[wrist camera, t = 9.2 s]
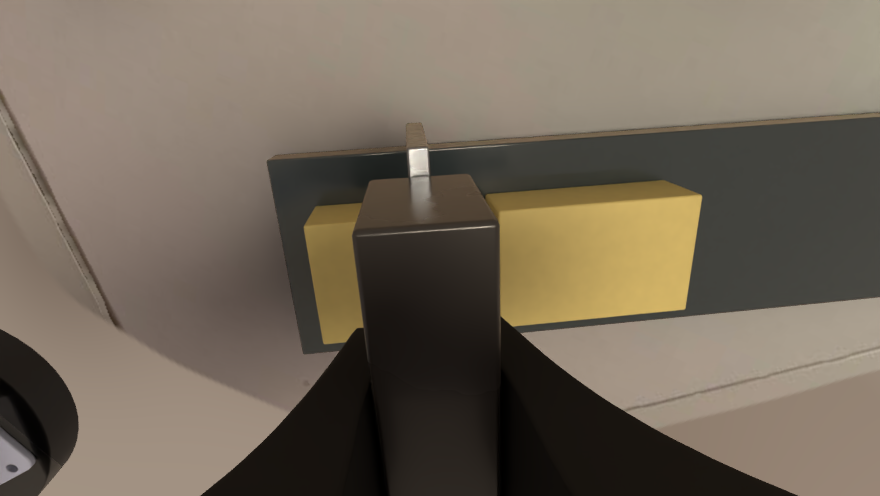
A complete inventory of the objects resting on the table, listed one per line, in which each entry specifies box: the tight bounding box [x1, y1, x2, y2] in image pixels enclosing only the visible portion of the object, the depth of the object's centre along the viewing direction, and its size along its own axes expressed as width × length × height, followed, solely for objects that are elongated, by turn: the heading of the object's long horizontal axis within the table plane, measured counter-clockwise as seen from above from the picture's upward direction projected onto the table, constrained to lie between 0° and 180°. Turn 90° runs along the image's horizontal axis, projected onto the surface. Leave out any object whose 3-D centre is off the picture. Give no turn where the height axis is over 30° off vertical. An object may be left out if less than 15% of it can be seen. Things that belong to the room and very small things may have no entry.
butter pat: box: [304, 203, 364, 344], centre depth 17 cm, size 3×4×2 cm
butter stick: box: [485, 180, 702, 326], centre depth 17 cm, size 7×4×2 cm, turn 93°
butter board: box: [267, 113, 880, 354], centre depth 20 cm, size 46×8×1 cm, turn 93°
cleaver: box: [352, 123, 501, 496], centre depth 10 cm, size 2×9×7 cm, turn 3°
